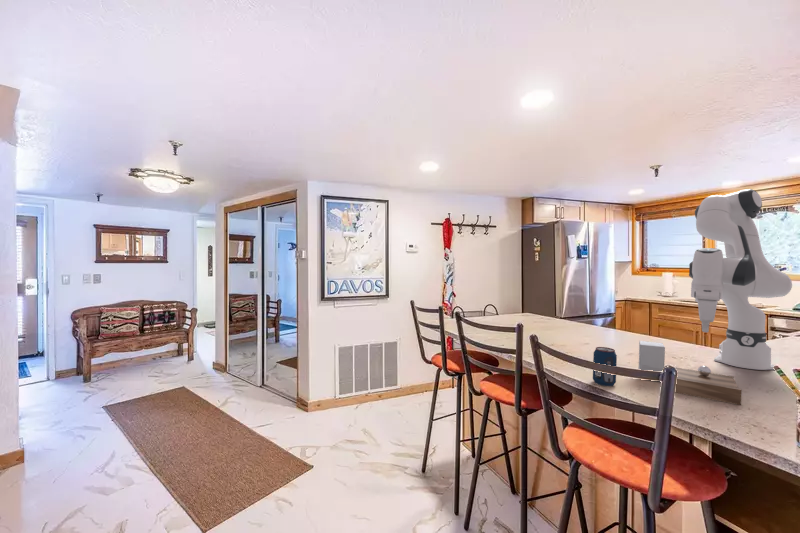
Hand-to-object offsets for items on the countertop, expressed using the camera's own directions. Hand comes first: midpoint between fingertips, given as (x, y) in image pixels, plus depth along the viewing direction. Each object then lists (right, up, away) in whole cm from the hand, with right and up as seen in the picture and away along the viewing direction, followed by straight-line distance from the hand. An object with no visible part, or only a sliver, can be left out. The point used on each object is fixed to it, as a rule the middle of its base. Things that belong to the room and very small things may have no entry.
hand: (705, 331), depth 133 cm
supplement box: (-20, -17, -1) cm, 26 cm away
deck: (-8, -17, -10) cm, 21 cm away
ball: (-4, -13, -5) cm, 15 cm away
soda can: (-41, -17, -7) cm, 45 cm away
